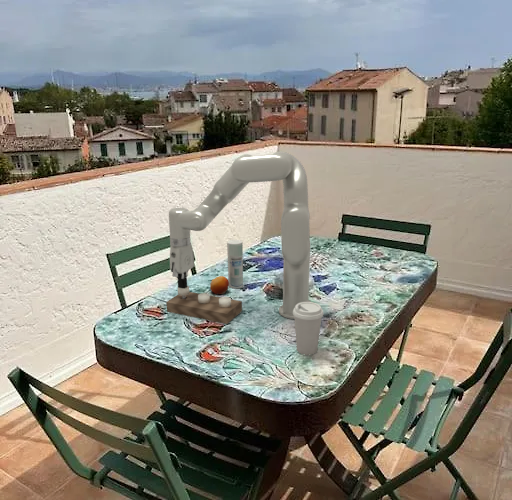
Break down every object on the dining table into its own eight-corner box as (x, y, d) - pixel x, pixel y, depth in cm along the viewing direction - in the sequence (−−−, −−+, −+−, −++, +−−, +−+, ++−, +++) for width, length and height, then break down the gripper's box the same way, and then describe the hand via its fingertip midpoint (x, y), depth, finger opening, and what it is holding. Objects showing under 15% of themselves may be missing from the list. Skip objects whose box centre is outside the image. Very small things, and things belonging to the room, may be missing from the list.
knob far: (192, 298, 177) (191, 286, 176) (185, 303, 174) (185, 290, 172) (182, 296, 179) (181, 284, 178) (176, 301, 175) (175, 288, 174)
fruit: (230, 293, 186) (220, 277, 185) (215, 301, 189) (204, 285, 188) (235, 286, 194) (225, 270, 193) (220, 294, 197) (210, 278, 195)
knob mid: (212, 306, 174) (211, 294, 173) (206, 311, 171) (205, 298, 169) (202, 304, 176) (201, 292, 175) (196, 309, 172) (195, 296, 171)
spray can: (240, 282, 202) (240, 239, 196) (245, 287, 196) (244, 243, 190) (226, 284, 200) (225, 240, 195) (230, 289, 195) (229, 244, 189)
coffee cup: (289, 343, 149) (290, 301, 145) (318, 342, 150) (320, 300, 146) (294, 358, 140) (295, 314, 136) (325, 357, 141) (327, 312, 137)
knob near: (233, 310, 171) (232, 297, 169) (227, 315, 167) (227, 302, 165) (222, 308, 173) (222, 296, 171) (217, 313, 169) (216, 300, 167)
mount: (242, 311, 174) (241, 301, 173) (227, 324, 163) (226, 313, 162) (184, 300, 184) (183, 290, 183) (166, 311, 174) (166, 301, 173)
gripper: (177, 248, 162) (179, 295, 167) (199, 237, 174) (201, 282, 180) (160, 245, 165) (162, 292, 170) (183, 235, 177) (185, 279, 183)
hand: (182, 287), depth 175 cm, fingers closed
